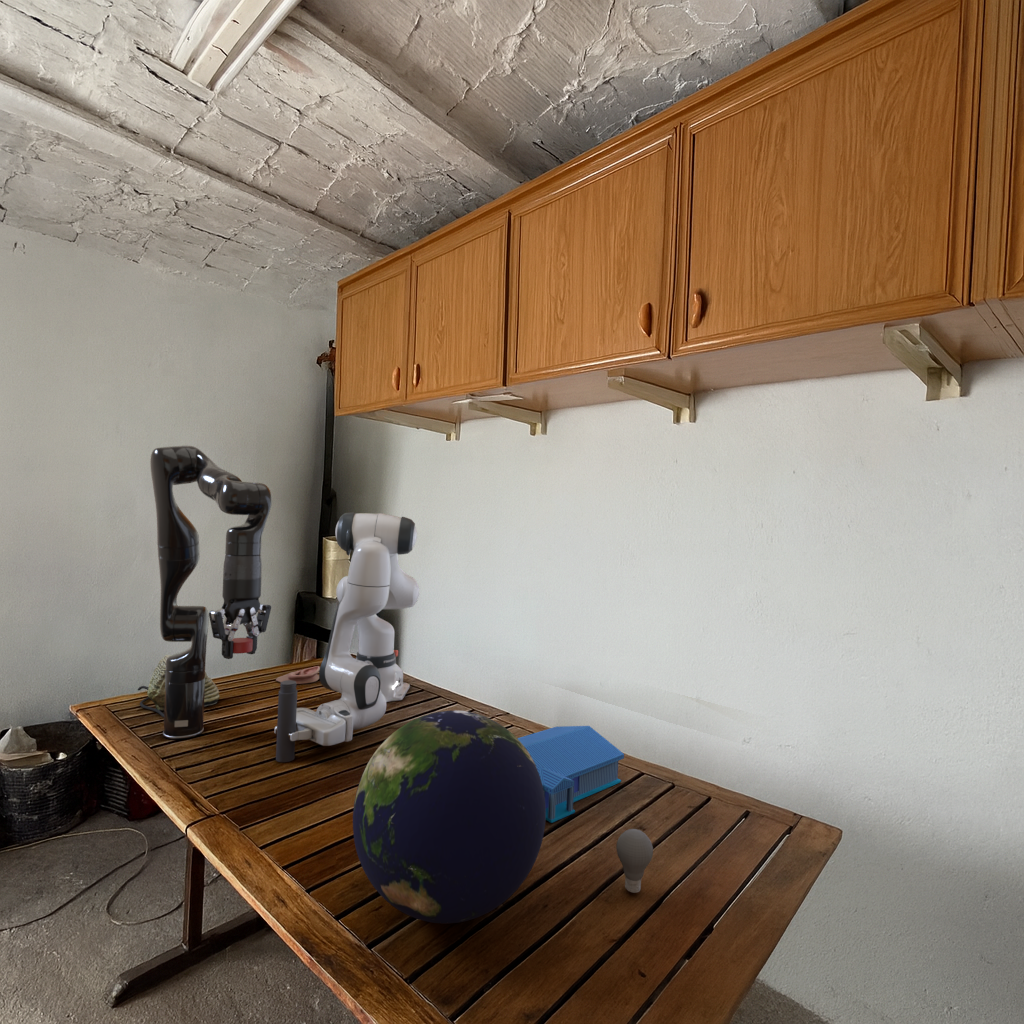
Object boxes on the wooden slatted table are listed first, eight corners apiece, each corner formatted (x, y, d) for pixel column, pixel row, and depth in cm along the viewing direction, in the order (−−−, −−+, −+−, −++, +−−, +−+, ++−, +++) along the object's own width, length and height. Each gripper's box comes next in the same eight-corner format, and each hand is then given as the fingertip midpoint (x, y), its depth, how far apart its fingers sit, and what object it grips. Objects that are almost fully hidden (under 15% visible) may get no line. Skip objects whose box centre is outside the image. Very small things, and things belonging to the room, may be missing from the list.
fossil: (144, 707, 182) (145, 655, 182) (212, 696, 194) (213, 647, 194) (151, 716, 175) (153, 662, 175) (221, 703, 188) (223, 653, 188)
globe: (306, 934, 92) (314, 729, 91) (413, 836, 119) (420, 678, 119) (495, 1005, 80) (505, 771, 80) (565, 878, 108) (573, 704, 108)
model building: (505, 843, 118) (507, 790, 118) (429, 794, 136) (431, 748, 136) (632, 786, 145) (634, 743, 144) (555, 752, 163) (557, 713, 163)
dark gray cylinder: (297, 756, 154) (300, 680, 153) (289, 763, 150) (292, 685, 149) (281, 754, 154) (284, 679, 154) (272, 761, 150) (275, 684, 150)
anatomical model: (271, 670, 211) (289, 662, 222) (270, 682, 211) (289, 673, 222) (307, 674, 208) (324, 665, 220) (306, 686, 208) (324, 677, 220)
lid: (222, 652, 132) (222, 641, 132) (236, 647, 137) (236, 637, 137) (243, 654, 132) (244, 643, 132) (257, 649, 136) (257, 638, 136)
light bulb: (610, 879, 108) (613, 822, 108) (644, 879, 109) (647, 822, 109) (619, 902, 102) (622, 840, 102) (655, 901, 103) (658, 840, 103)
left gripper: (223, 580, 126) (220, 665, 126) (282, 575, 139) (279, 652, 139) (200, 576, 130) (197, 659, 130) (259, 572, 142) (256, 647, 143)
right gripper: (307, 698, 168) (259, 710, 157) (357, 716, 156) (308, 731, 145) (306, 722, 168) (258, 736, 157) (355, 742, 156) (307, 759, 145)
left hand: (239, 655), depth 134 cm, fingers closed on lid, 5 cm apart
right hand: (282, 734), depth 151 cm, fingers closed on dark gray cylinder, 4 cm apart
